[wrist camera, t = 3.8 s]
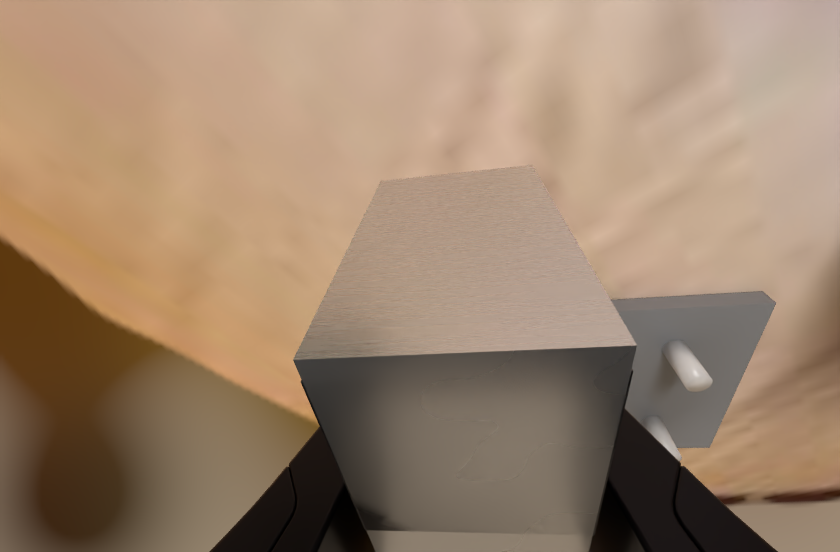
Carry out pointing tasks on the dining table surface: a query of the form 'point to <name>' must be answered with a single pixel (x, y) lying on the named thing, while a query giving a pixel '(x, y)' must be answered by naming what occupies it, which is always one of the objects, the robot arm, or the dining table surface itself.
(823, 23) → the dining table surface
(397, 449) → the block
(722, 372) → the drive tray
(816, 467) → the dining table surface
